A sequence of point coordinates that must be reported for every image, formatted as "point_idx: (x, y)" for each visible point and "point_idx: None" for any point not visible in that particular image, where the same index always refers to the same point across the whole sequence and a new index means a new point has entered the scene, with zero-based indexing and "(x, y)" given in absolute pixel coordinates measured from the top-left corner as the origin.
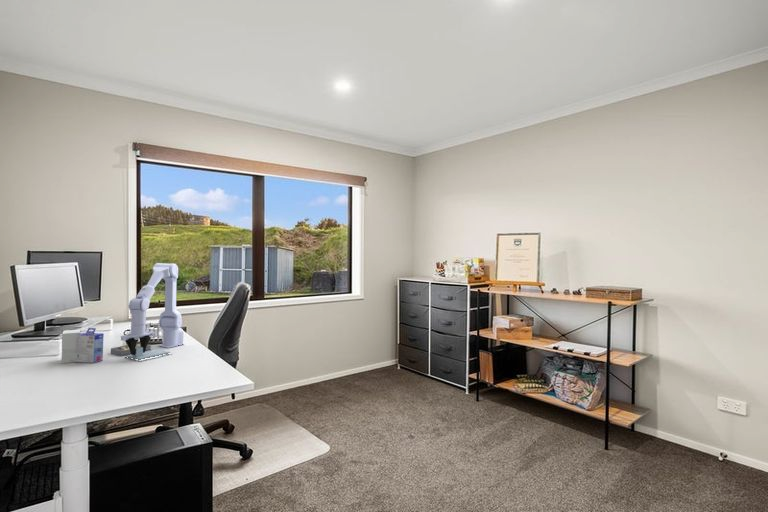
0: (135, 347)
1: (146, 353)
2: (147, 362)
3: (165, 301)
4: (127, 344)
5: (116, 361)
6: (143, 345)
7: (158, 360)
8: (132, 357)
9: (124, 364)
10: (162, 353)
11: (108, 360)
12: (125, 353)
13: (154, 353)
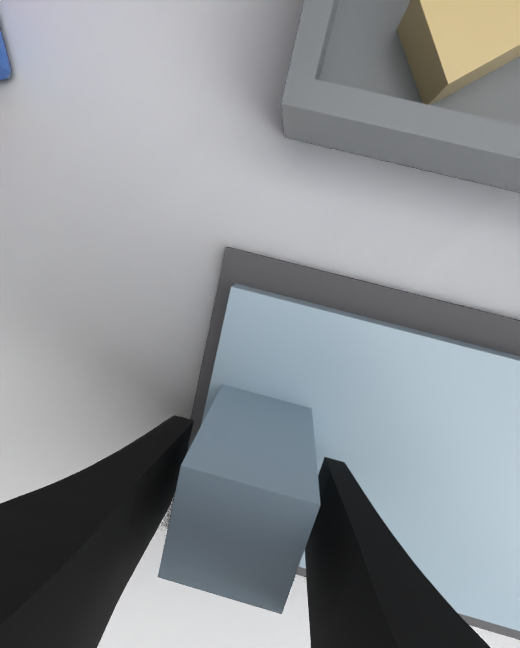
0: (213, 512)
1: (408, 454)
2: (174, 596)
3: None
4: (5, 505)
5: (67, 298)
6: (325, 626)
7: (267, 640)
8: (208, 401)
9: (33, 462)
10: (463, 613)
11: (51, 160)
12: (342, 140)
13: (436, 539)
